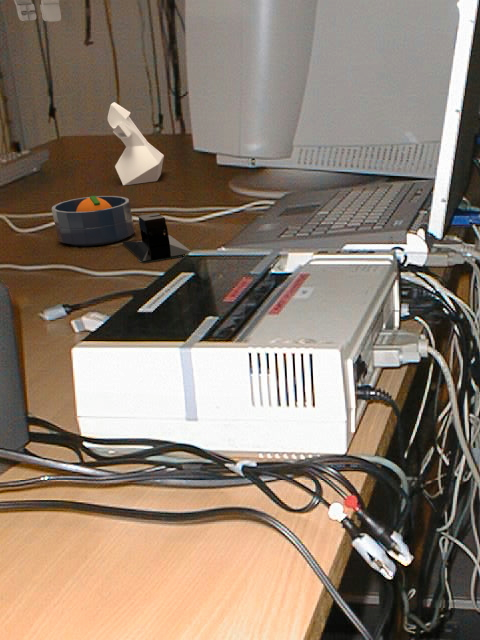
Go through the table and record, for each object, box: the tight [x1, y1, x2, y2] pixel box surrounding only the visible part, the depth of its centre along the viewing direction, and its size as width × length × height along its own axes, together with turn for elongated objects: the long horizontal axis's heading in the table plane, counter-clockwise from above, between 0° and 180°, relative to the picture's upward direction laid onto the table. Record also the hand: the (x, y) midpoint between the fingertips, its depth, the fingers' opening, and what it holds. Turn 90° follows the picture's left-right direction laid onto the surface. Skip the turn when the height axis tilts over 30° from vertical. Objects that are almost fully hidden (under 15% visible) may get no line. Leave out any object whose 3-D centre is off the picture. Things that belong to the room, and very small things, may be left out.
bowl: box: [51, 195, 135, 247], centre depth 134 cm, size 11×11×5 cm
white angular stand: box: [107, 101, 165, 186], centre depth 173 cm, size 8×14×14 cm, turn 6°
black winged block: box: [122, 212, 191, 264], centre depth 127 cm, size 12×7×5 cm, turn 27°
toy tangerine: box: [76, 195, 112, 212], centre depth 133 cm, size 6×6×6 cm
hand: (40, 21), depth 108 cm, fingers open, 8 cm apart
